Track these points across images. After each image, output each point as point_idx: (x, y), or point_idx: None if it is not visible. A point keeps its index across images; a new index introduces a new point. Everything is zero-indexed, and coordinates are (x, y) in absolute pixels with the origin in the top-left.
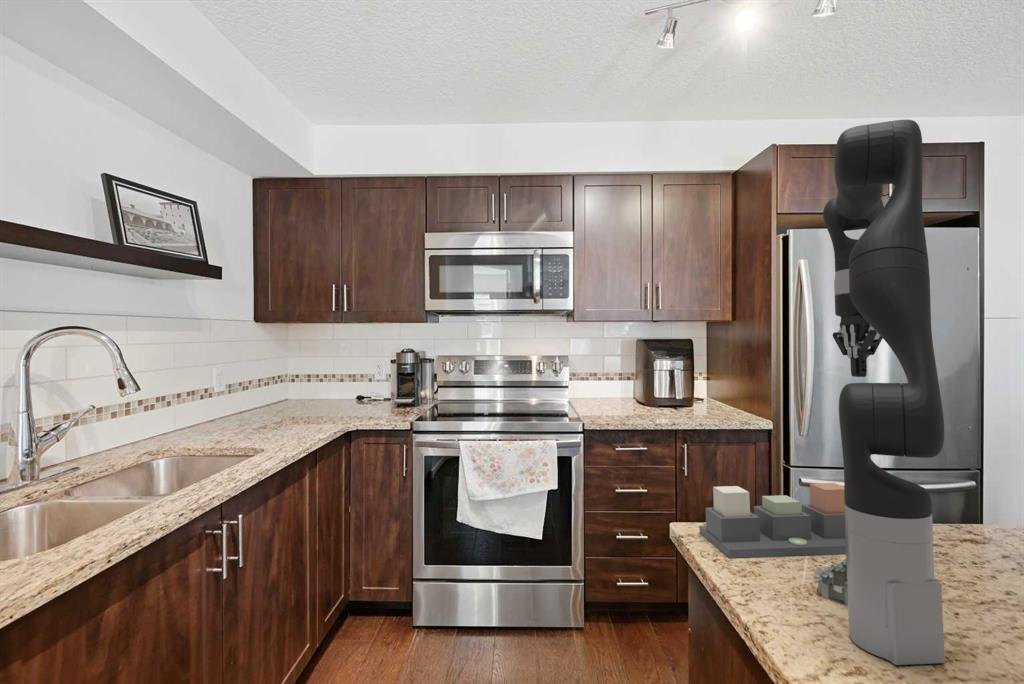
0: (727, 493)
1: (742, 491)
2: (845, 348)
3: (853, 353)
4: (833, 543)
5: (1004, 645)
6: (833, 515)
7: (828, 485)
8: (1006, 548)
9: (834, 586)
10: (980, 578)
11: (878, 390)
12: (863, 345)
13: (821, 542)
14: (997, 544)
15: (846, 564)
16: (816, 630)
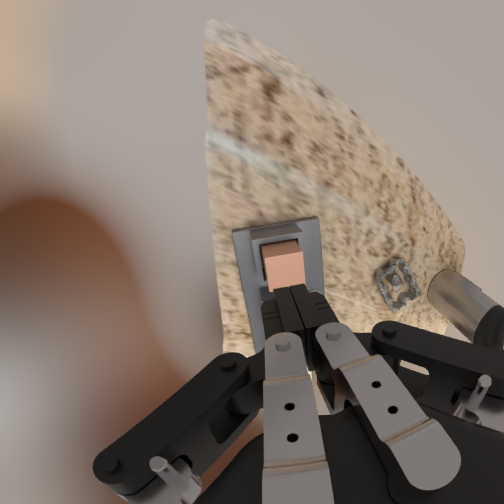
0: (311, 380)
1: (307, 369)
2: (245, 422)
3: (322, 390)
4: (315, 263)
5: (451, 229)
6: (305, 266)
7: (280, 272)
8: (294, 71)
9: (404, 301)
10: (376, 161)
11: None
12: (412, 396)
13: (311, 273)
14: (281, 70)
15: (380, 282)
16: (424, 317)
